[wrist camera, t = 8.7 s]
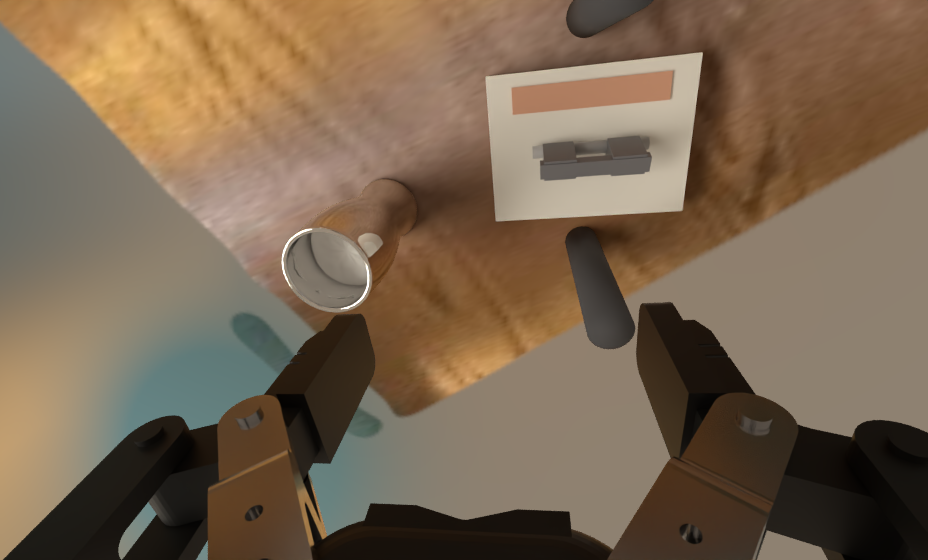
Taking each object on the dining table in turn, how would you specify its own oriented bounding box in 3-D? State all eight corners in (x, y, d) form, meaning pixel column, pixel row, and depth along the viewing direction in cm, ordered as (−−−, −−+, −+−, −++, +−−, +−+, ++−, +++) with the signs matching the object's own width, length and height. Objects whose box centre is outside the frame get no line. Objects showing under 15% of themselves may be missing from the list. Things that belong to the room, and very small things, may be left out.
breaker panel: (488, 76, 36) (485, 76, 33) (688, 53, 33) (704, 52, 30) (497, 211, 41) (495, 222, 38) (671, 201, 38) (683, 211, 36)
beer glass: (427, 183, 41) (380, 239, 27) (416, 247, 44) (369, 325, 31) (358, 166, 41) (278, 213, 27) (352, 231, 44) (277, 301, 31)
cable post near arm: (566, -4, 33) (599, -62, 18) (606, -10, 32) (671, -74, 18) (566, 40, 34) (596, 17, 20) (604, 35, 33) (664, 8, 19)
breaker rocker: (532, 140, 34) (533, 163, 32) (648, 130, 33) (659, 153, 30) (532, 158, 35) (533, 182, 33) (644, 149, 34) (656, 173, 31)
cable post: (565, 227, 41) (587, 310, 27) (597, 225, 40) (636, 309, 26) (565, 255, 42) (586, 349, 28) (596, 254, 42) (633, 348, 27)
